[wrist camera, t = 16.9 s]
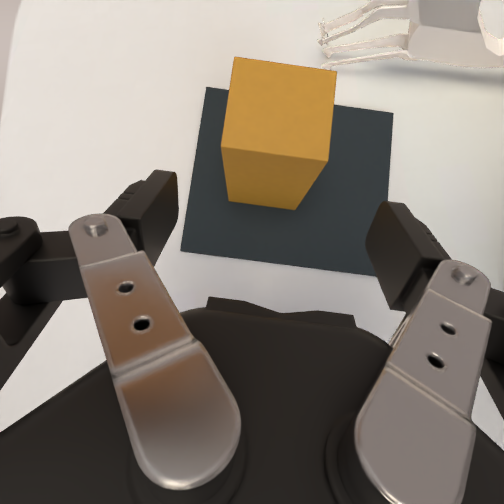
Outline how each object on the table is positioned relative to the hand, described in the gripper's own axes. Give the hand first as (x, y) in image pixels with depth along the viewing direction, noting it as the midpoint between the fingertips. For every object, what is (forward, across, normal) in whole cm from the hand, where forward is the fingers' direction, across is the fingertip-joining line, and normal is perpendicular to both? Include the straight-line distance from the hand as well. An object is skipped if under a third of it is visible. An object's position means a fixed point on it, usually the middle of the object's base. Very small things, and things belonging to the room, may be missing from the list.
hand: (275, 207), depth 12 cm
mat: (+13, -2, +4) cm, 13 cm away
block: (+12, 0, +4) cm, 13 cm away
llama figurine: (+21, -12, -4) cm, 24 cm away
